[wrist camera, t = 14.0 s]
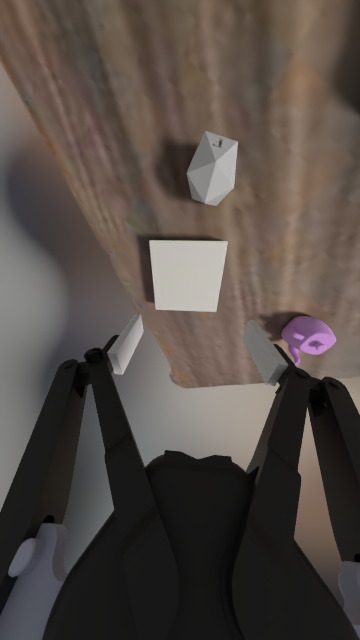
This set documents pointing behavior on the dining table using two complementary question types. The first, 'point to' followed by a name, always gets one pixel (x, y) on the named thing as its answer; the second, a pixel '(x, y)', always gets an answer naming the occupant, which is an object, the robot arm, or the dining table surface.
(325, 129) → the dining table surface
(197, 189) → the die
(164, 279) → the plinth
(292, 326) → the teapot
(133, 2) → the dining table surface
